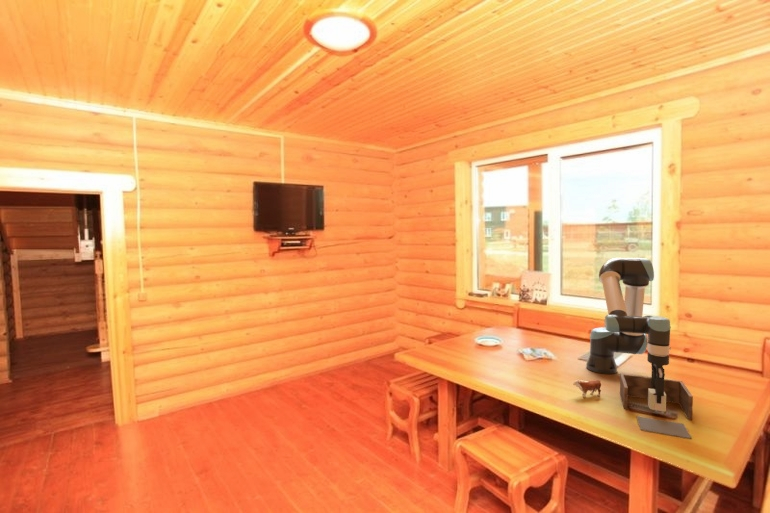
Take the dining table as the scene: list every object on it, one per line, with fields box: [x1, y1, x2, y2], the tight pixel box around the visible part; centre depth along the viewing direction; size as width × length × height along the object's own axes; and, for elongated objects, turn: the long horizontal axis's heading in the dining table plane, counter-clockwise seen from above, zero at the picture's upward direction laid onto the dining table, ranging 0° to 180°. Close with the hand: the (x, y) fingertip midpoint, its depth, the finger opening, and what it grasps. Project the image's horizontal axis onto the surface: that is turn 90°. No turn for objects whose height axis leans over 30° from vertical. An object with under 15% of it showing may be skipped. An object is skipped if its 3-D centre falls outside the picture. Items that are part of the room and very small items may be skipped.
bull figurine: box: [572, 379, 602, 399], centre depth 185 cm, size 4×13×8 cm, turn 95°
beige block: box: [647, 388, 667, 412], centre depth 166 cm, size 6×6×7 cm
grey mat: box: [636, 415, 692, 440], centre depth 155 cm, size 16×12×1 cm
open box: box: [619, 373, 694, 421], centre depth 173 cm, size 24×18×10 cm
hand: (656, 406), depth 166 cm, fingers closed on beige block, 5 cm apart
